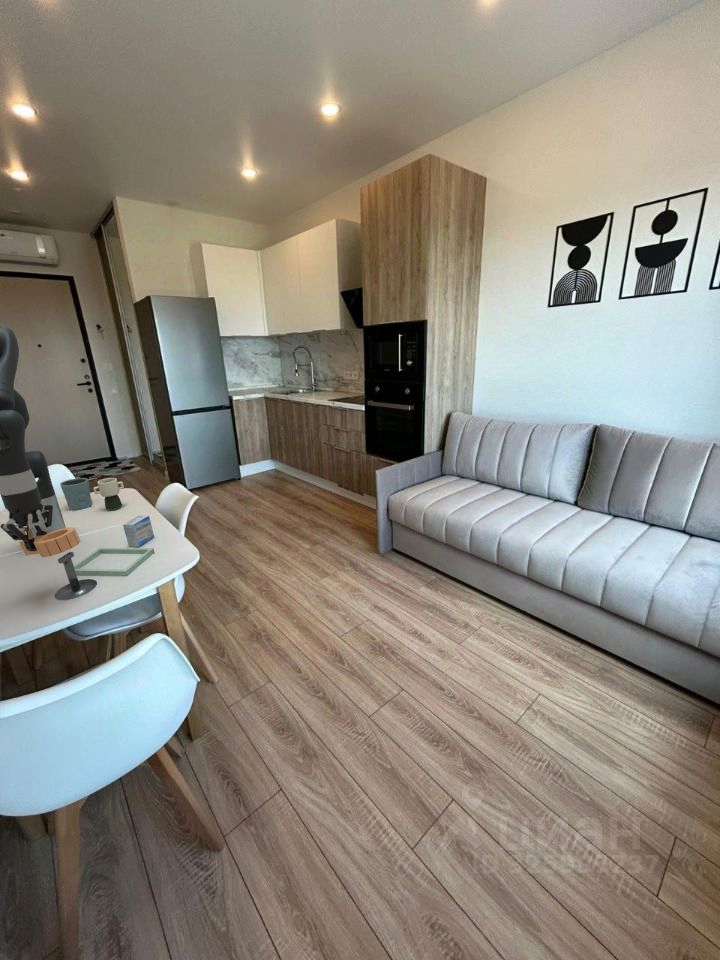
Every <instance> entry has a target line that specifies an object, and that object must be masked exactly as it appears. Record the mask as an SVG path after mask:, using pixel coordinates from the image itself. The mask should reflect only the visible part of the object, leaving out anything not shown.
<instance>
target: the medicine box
mask: <svg viewBox="0 0 720 960" xmlns="http://www.w3.org/2000/svg"><path fill="white" fill-rule="evenodd" d="M122 527H123V530H124V535H125V538H126V542H127V546H128V547H130V546H132V547H131V548H141V547H142V546H143V545H144V543H145V544H147V541H148V542H149V541H151V540H152V539H154V538H153V537H155V534H154V530H153V526H152V521H151V518H150V515H143V514H142V515H140V514H139V515H138V516H136V517H135V518H133V519H131V520H129V521H127V522H126V523H123V524H122ZM150 539H151V540H150ZM142 544H143V545H142ZM141 545H142V546H141Z"/></svg>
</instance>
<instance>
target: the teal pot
mask: <svg viewBox="0 0 720 960" xmlns="http://www.w3.org/2000/svg"><path fill="white" fill-rule="evenodd" d="M59 485H60V488H61V490H62V493H63V494H64V498H65V500H66V503H67V507H68V510H70V511H72V512H73V511H81V510H85V509H88V508H89V507H92V506H93V500H92V496H91V492H90V491H91V489H90V483H89V479H88V477H87V478H86V477H75V478H71V479H67V480H64V481H61V482H60V483H59Z"/></svg>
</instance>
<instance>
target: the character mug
mask: <svg viewBox="0 0 720 960" xmlns="http://www.w3.org/2000/svg"><path fill="white" fill-rule="evenodd" d="M119 485H120V486H119ZM124 489H125V486H124V482H123V481H118V479H117V478H116V477H115V478H114V477H108V478H103V479H99V480H98V481H97V486H94V487H93V492H94V494H95V495H99V494H100V496H101V497H104V509H105V510H107V511H108V510H110V511H112V510H118V509H120V508H121V507H122V506H123V504H122V501H121V499H120V497H119V495H118V494H119V493H120V490H124ZM97 490H98V491H97Z"/></svg>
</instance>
